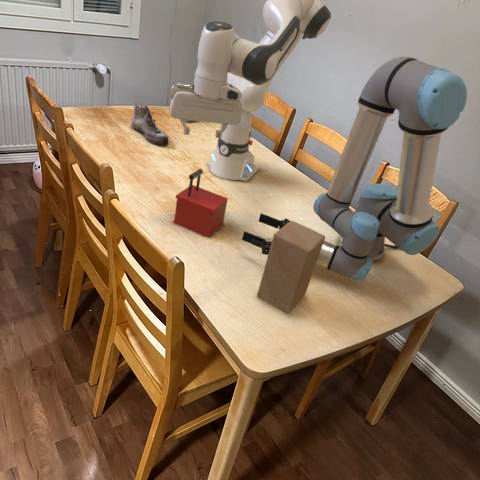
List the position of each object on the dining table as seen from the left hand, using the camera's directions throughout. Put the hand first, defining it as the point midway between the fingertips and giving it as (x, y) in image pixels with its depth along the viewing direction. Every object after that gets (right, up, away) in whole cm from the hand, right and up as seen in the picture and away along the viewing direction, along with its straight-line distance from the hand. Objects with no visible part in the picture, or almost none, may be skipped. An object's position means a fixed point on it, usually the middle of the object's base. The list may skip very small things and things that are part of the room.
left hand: (202, 135), depth 127 cm
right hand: (+14, -26, +6) cm, 30 cm away
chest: (-2, -25, +14) cm, 29 cm away
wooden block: (+22, -46, -9) cm, 51 cm away
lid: (-1, -18, +10) cm, 20 cm away
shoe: (-29, +16, +69) cm, 76 cm away
